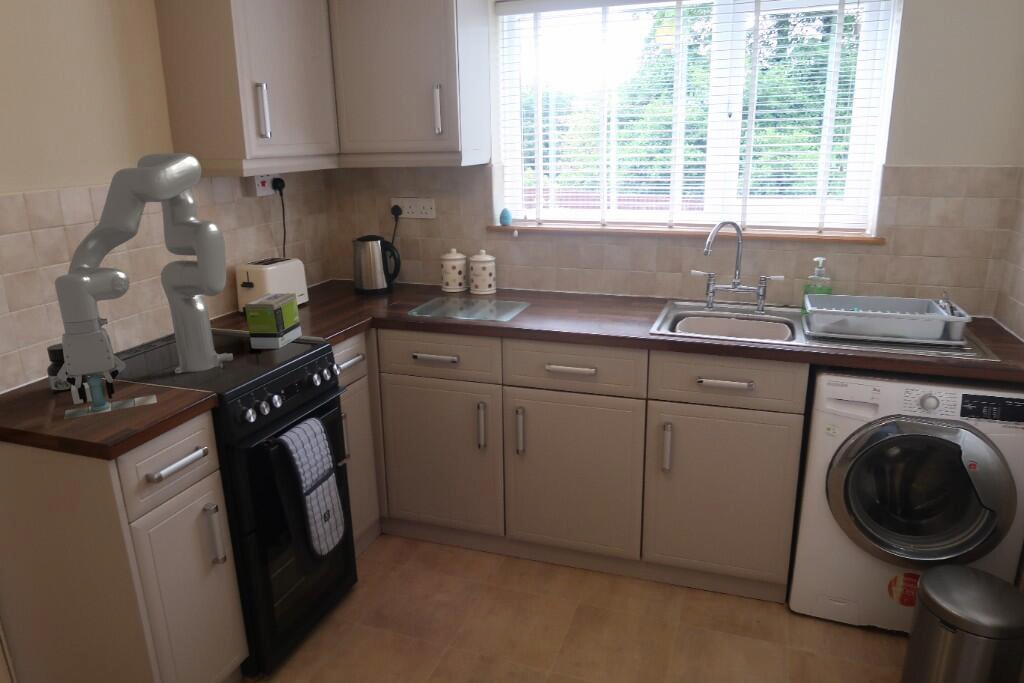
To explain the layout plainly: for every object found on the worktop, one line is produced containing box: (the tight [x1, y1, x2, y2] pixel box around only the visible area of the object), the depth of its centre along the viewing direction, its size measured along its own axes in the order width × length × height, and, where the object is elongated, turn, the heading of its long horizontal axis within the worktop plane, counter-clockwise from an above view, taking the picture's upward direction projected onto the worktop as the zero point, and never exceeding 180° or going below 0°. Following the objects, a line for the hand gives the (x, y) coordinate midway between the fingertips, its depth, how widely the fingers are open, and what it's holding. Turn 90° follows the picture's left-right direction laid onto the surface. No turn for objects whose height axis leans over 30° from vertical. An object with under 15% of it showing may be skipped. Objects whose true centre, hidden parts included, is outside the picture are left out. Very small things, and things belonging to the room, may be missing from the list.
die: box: [70, 383, 92, 405], centre depth 183 cm, size 5×5×5 cm
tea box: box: [244, 292, 303, 350], centre depth 231 cm, size 15×10×15 cm, turn 168°
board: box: [63, 394, 158, 420], centre depth 177 cm, size 20×7×1 cm, turn 118°
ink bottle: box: [46, 342, 89, 394], centre depth 195 cm, size 10×9×12 cm
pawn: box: [87, 374, 110, 412], centre depth 175 cm, size 4×4×9 cm
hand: (97, 398), depth 175 cm, fingers open, 4 cm apart
